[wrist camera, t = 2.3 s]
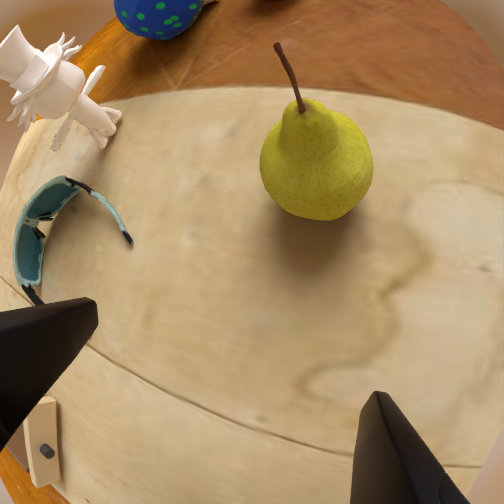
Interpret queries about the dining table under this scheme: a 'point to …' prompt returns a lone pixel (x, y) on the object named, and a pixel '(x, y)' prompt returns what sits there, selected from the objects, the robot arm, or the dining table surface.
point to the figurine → (53, 87)
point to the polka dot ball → (158, 16)
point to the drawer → (38, 443)
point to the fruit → (315, 158)
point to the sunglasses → (31, 238)
